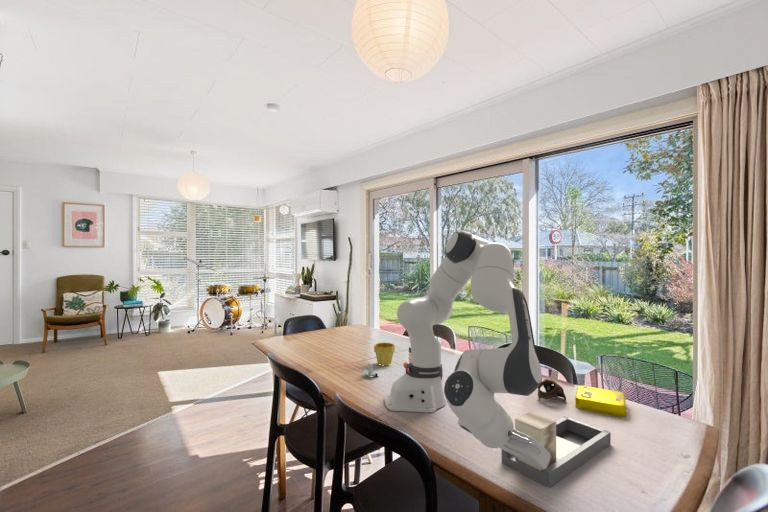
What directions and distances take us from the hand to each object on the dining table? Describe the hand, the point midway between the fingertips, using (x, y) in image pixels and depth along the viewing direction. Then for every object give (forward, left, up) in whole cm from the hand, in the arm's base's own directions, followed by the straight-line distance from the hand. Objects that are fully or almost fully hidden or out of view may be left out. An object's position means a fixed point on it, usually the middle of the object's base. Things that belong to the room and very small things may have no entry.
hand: (517, 454), depth 87 cm
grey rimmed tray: (+16, +10, -6) cm, 20 cm away
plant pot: (-25, +95, -6) cm, 99 cm away
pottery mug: (+34, +46, -6) cm, 58 cm away
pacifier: (-32, +78, -6) cm, 85 cm away
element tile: (+48, +39, -7) cm, 63 cm away
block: (+7, +4, -4) cm, 9 cm away
